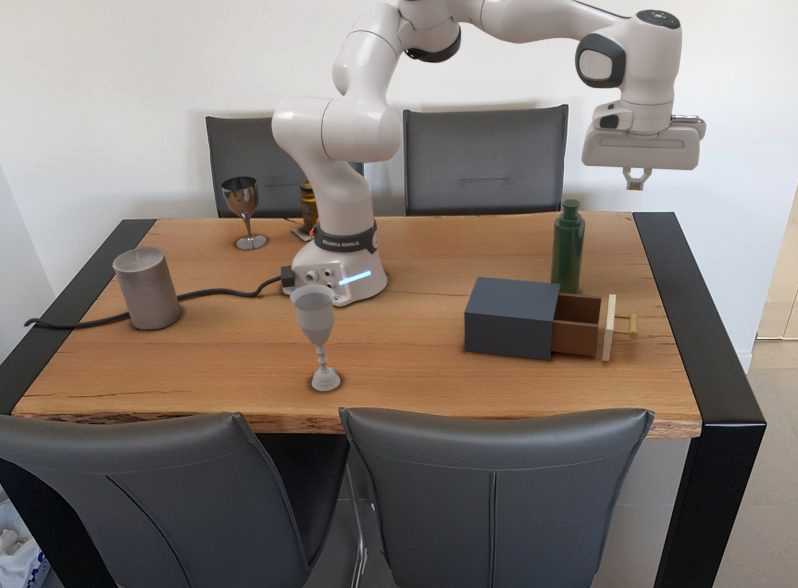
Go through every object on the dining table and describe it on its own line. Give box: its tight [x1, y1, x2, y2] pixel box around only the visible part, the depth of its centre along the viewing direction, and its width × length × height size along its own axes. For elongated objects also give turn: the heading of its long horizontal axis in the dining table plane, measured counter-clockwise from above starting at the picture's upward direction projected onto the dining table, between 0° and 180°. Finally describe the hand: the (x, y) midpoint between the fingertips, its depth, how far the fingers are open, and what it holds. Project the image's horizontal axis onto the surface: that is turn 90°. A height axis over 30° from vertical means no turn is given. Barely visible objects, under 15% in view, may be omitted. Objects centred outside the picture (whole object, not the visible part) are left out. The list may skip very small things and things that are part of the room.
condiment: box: [291, 180, 319, 242], centre depth 171 cm, size 7×8×12 cm
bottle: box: [549, 198, 586, 295], centre depth 140 cm, size 6×6×20 cm
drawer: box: [551, 293, 639, 362], centre depth 129 cm, size 19×11×7 cm, turn 75°
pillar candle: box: [112, 246, 182, 331], centre depth 141 cm, size 10×10×15 cm
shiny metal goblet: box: [221, 175, 267, 250], centre depth 167 cm, size 8×8×15 cm
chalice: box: [289, 285, 341, 392], centre depth 121 cm, size 7×7×18 cm
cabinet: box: [463, 276, 560, 361], centre depth 132 cm, size 16×13×9 cm
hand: (634, 189), depth 132 cm, fingers closed
